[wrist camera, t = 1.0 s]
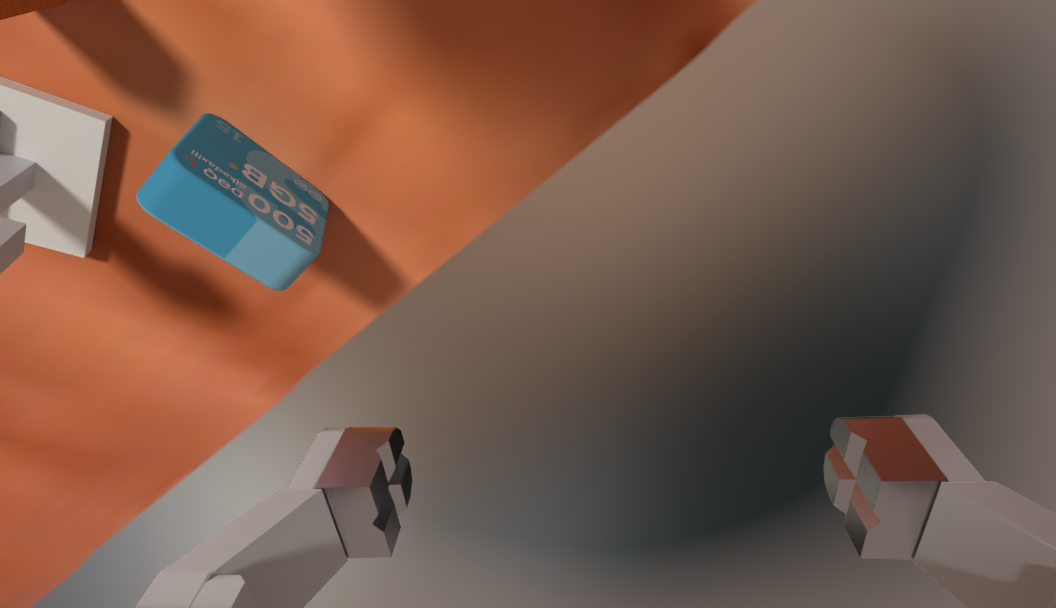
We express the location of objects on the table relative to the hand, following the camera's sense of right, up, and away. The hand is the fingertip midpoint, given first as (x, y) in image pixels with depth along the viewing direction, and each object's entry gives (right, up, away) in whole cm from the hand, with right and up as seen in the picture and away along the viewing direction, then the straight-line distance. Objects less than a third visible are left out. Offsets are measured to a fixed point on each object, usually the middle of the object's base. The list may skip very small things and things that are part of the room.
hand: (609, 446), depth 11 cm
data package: (-26, +14, +40) cm, 50 cm away
